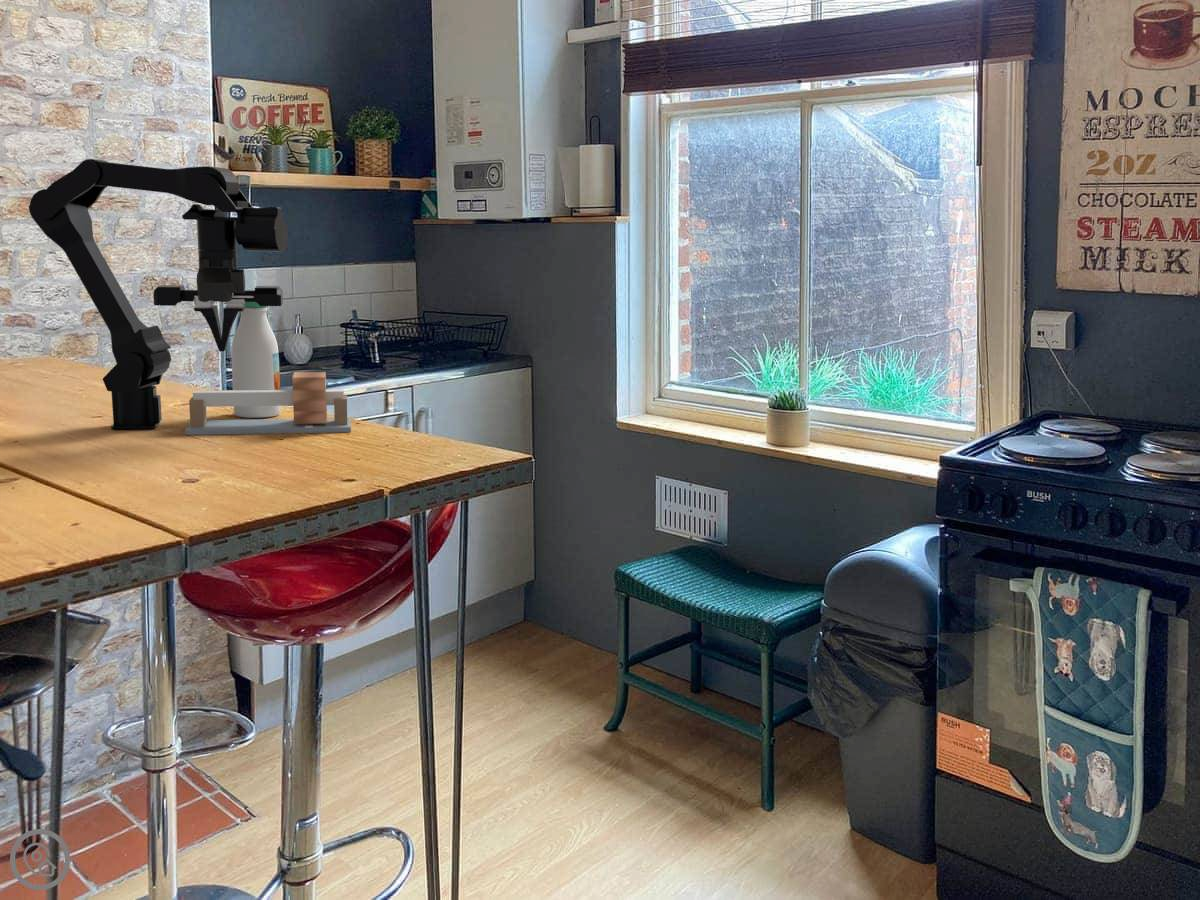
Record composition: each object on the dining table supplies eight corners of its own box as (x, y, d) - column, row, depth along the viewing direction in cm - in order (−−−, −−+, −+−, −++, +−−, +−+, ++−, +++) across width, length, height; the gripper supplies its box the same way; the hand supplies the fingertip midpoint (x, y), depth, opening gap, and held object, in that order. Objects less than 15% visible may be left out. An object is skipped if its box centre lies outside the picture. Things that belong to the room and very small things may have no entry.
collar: (293, 423, 181) (292, 377, 179) (295, 417, 186) (294, 372, 185) (326, 423, 182) (325, 377, 180) (326, 416, 187) (325, 372, 186)
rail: (185, 434, 177) (183, 395, 175) (192, 425, 184) (190, 387, 183) (350, 432, 182) (349, 393, 181) (350, 423, 190) (349, 386, 188)
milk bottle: (267, 420, 190) (263, 299, 186) (225, 417, 192) (219, 297, 188) (288, 412, 198) (285, 296, 194) (247, 410, 199) (243, 294, 195)
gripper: (144, 251, 166) (150, 358, 169) (277, 253, 170) (280, 357, 173) (156, 248, 177) (162, 349, 180) (281, 250, 181) (284, 348, 184)
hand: (222, 351), depth 179 cm, fingers closed
